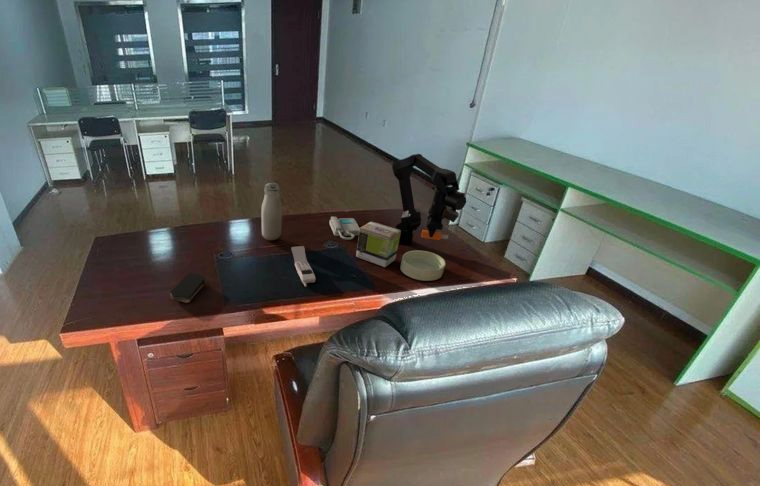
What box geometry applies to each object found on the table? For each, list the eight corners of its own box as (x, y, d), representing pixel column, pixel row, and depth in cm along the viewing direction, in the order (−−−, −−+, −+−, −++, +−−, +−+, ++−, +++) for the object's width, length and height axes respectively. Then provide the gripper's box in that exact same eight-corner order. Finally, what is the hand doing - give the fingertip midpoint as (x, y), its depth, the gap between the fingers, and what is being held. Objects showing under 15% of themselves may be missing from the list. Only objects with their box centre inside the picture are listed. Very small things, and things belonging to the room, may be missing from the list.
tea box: (395, 259, 178) (402, 229, 170) (384, 268, 172) (390, 237, 164) (366, 249, 187) (371, 220, 178) (354, 257, 181) (359, 227, 172)
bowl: (397, 277, 166) (400, 265, 163) (402, 258, 179) (404, 247, 176) (441, 285, 161) (444, 273, 158) (442, 265, 174) (446, 254, 171)
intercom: (339, 236, 188) (329, 215, 208) (338, 244, 191) (328, 223, 211) (366, 236, 188) (354, 214, 209) (365, 244, 191) (353, 222, 211)
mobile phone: (303, 245, 178) (318, 273, 158) (303, 257, 181) (317, 286, 161) (290, 246, 177) (303, 275, 157) (290, 258, 181) (303, 287, 160)
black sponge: (189, 279, 166) (188, 272, 164) (207, 283, 164) (206, 275, 162) (169, 301, 154) (167, 293, 152) (188, 305, 152) (187, 297, 149)
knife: (420, 237, 177) (422, 231, 175) (421, 235, 179) (422, 228, 177) (447, 241, 174) (449, 235, 172) (447, 238, 176) (449, 232, 174)
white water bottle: (264, 244, 191) (264, 188, 175) (259, 235, 199) (258, 180, 183) (284, 242, 193) (285, 186, 177) (278, 233, 201) (279, 178, 185)
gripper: (460, 212, 158) (450, 247, 167) (460, 196, 172) (450, 229, 181) (430, 209, 161) (422, 243, 170) (433, 193, 175) (425, 226, 184)
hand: (430, 235), depth 176 cm, fingers closed on knife, 2 cm apart
